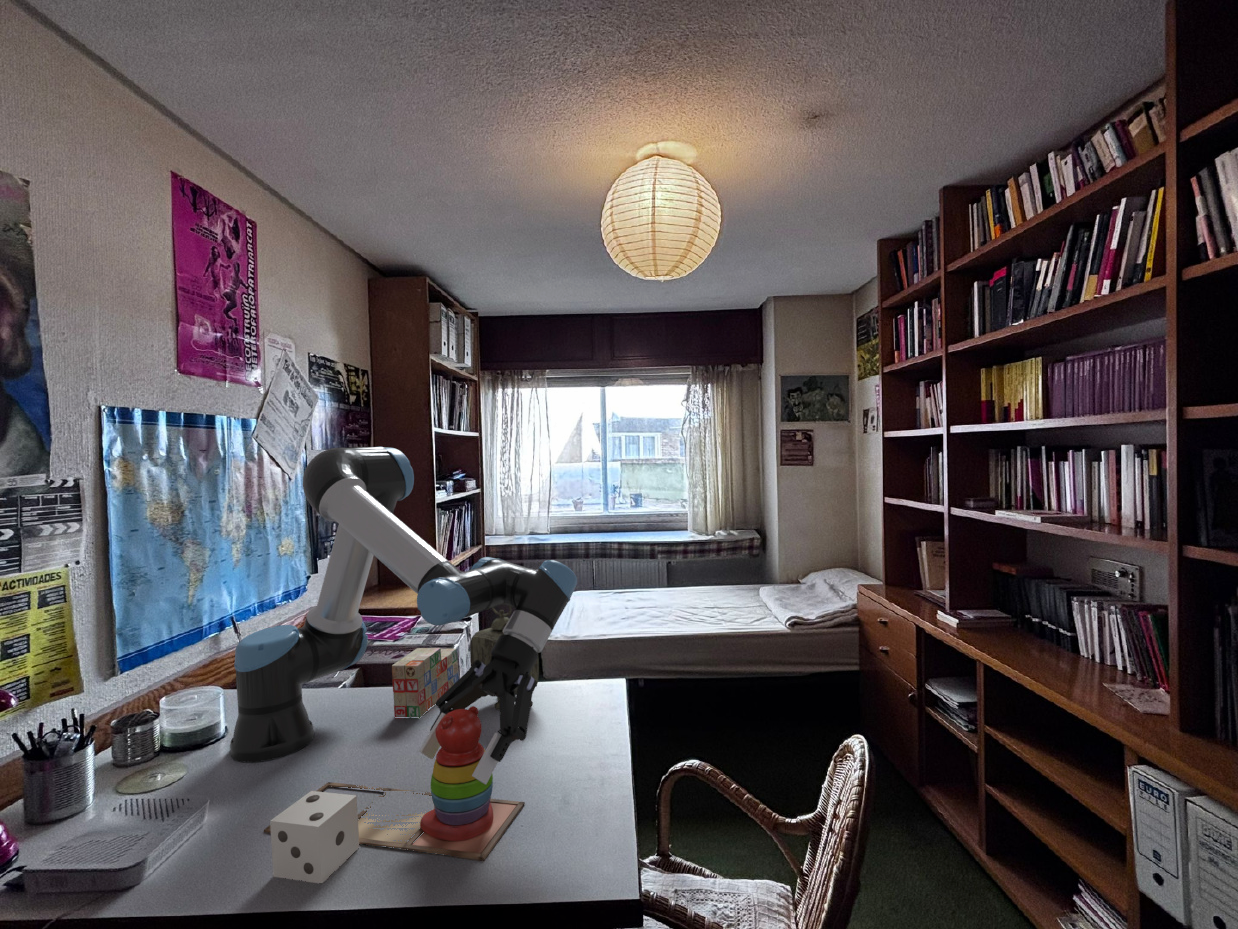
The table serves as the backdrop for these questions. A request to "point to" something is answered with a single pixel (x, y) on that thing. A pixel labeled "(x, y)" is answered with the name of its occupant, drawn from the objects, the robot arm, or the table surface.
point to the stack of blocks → (422, 679)
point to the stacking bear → (458, 780)
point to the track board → (425, 843)
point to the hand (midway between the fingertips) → (450, 767)
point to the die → (314, 836)
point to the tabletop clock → (486, 641)
